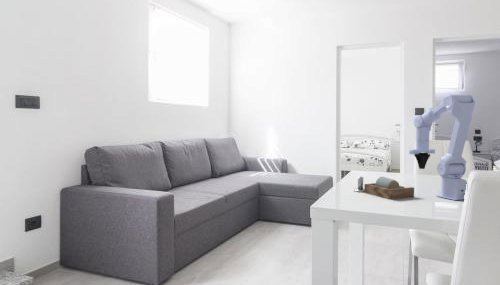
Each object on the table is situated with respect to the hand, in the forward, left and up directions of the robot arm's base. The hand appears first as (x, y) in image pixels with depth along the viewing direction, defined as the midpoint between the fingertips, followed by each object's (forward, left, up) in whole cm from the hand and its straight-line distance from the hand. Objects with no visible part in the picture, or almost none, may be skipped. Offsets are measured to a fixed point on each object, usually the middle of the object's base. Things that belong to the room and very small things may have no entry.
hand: (421, 168), depth 177 cm
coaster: (+7, +10, -10) cm, 16 cm away
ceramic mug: (-4, +24, -10) cm, 26 cm away
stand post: (+7, +31, -10) cm, 33 cm away
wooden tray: (-5, +25, -10) cm, 27 cm away
